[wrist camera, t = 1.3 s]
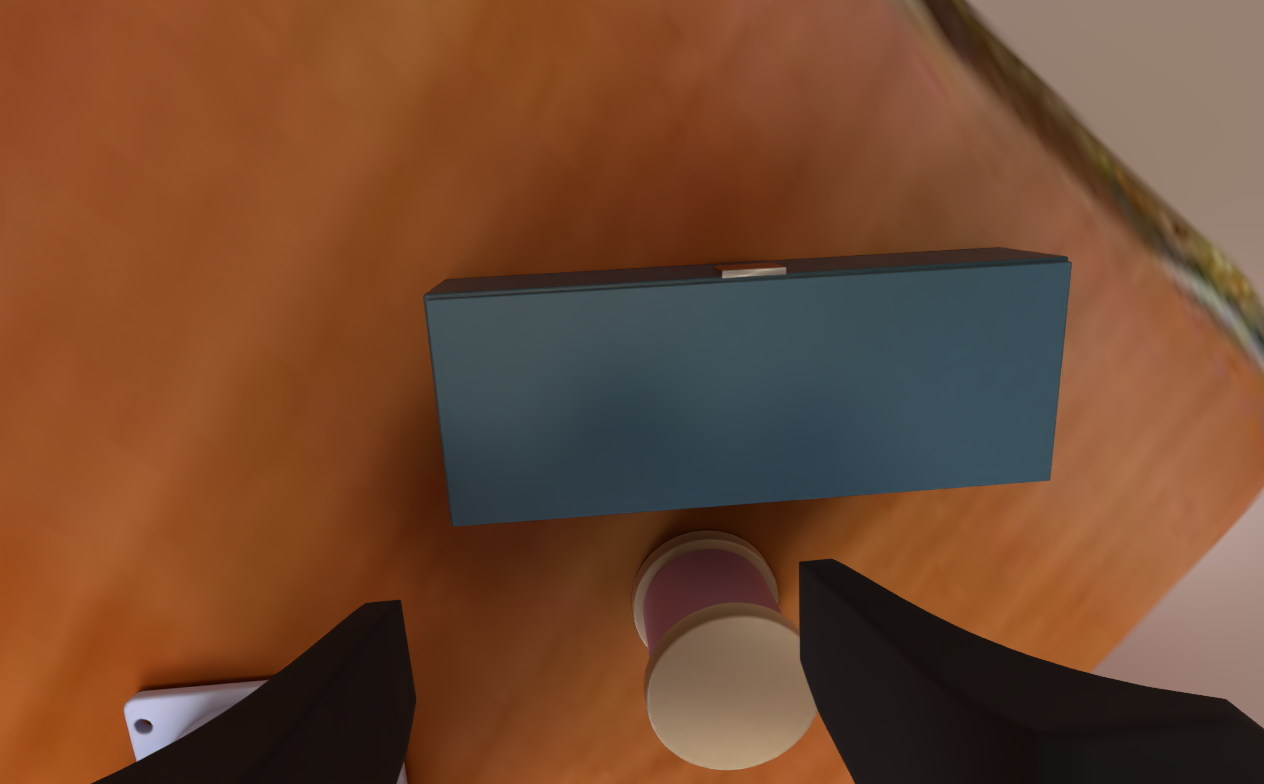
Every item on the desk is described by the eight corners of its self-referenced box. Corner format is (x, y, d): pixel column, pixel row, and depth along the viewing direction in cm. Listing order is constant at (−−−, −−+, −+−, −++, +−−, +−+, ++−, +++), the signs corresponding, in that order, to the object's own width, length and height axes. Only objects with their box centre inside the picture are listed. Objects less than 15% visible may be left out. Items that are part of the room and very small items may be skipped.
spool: (773, 652, 25) (822, 762, 20) (635, 664, 25) (649, 779, 20) (773, 523, 24) (824, 608, 19) (627, 535, 24) (642, 624, 19)
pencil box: (1000, 241, 22) (1077, 251, 19) (985, 442, 24) (1053, 484, 20) (444, 273, 21) (419, 290, 18) (467, 480, 23) (448, 531, 19)
